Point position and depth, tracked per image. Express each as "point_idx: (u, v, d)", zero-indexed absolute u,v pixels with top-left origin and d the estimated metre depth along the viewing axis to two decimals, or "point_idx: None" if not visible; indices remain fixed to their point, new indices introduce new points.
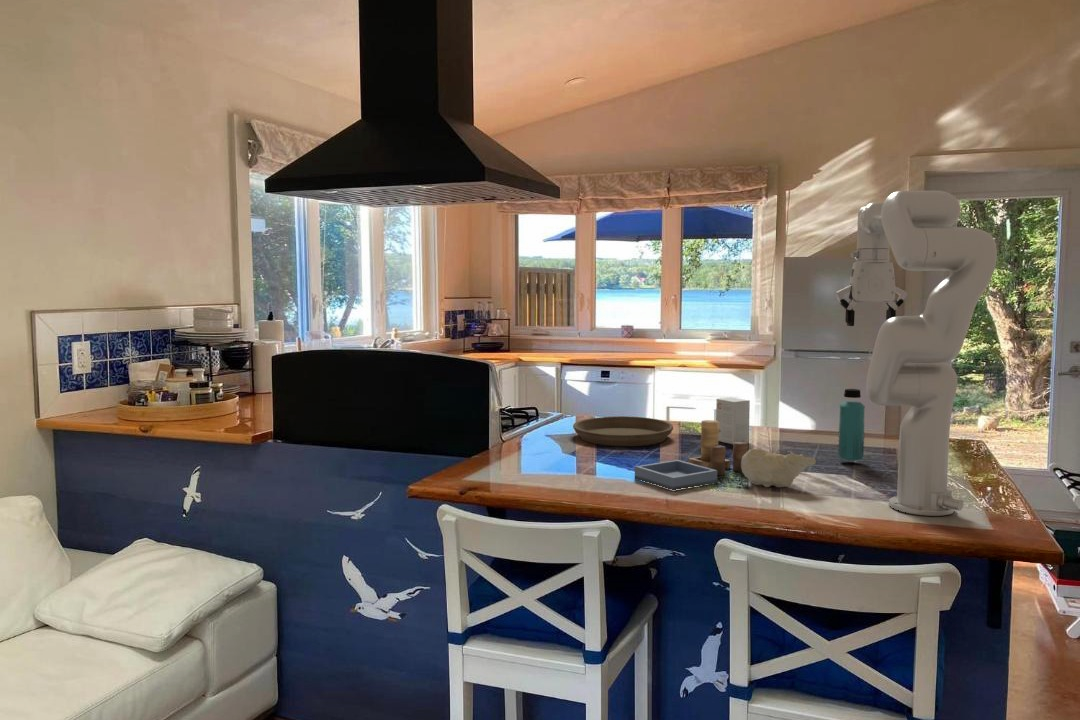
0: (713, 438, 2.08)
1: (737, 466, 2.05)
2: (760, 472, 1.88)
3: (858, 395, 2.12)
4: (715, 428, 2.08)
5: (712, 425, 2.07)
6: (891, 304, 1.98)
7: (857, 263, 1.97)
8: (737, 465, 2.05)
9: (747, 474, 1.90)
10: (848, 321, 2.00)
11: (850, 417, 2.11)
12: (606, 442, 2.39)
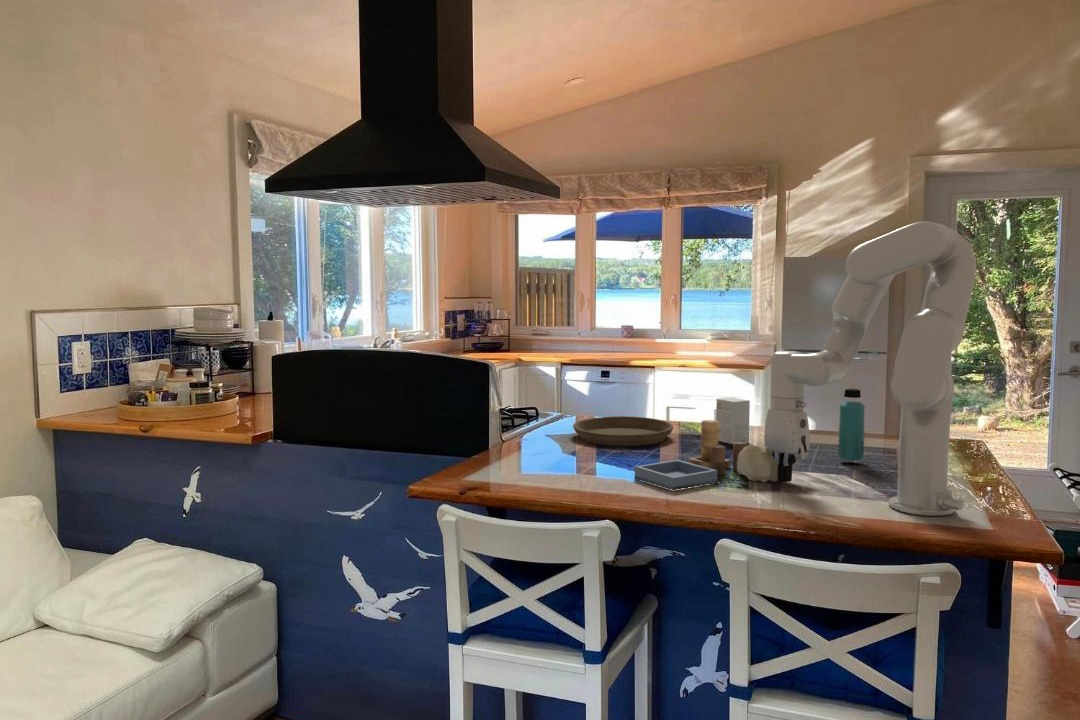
0: (713, 438, 2.08)
1: None
2: (758, 468, 1.92)
3: (858, 395, 2.12)
4: (715, 428, 2.08)
5: (712, 425, 2.07)
6: None
7: (806, 413, 1.85)
8: None
9: (746, 471, 1.93)
10: None
11: (850, 417, 2.11)
12: (606, 442, 2.39)
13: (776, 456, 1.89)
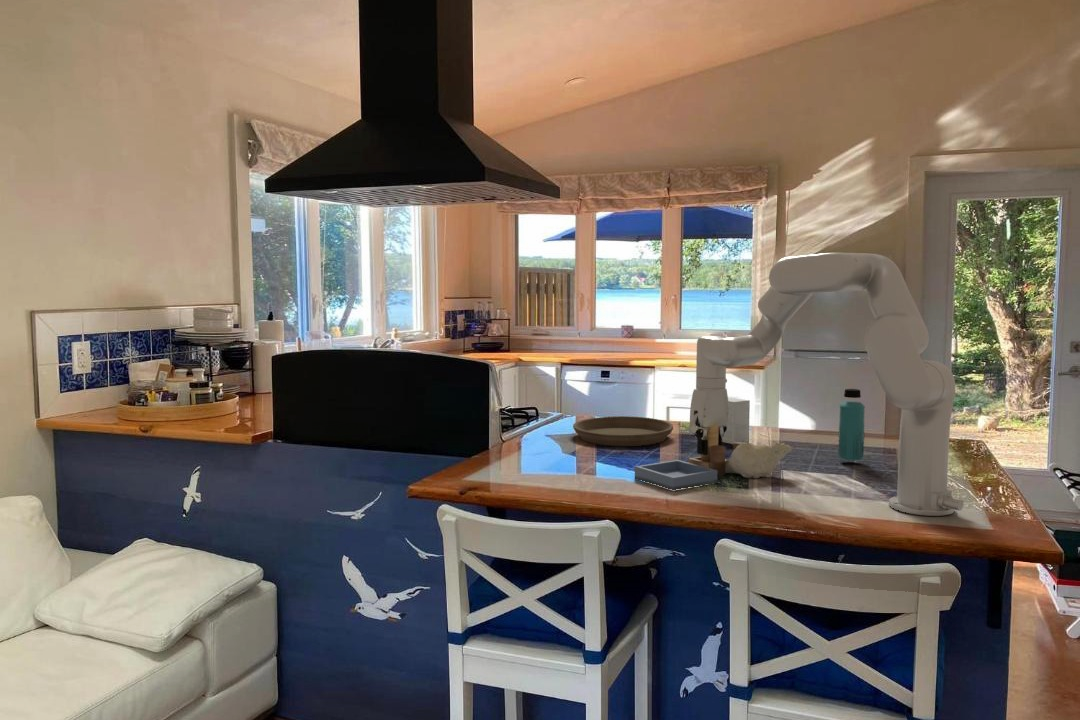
0: (713, 438, 2.08)
1: None
2: (753, 465, 1.96)
3: (858, 395, 2.12)
4: (715, 428, 2.08)
5: None
6: None
7: None
8: None
9: (742, 468, 1.95)
10: None
11: (850, 417, 2.11)
12: (606, 442, 2.39)
13: (705, 433, 2.07)
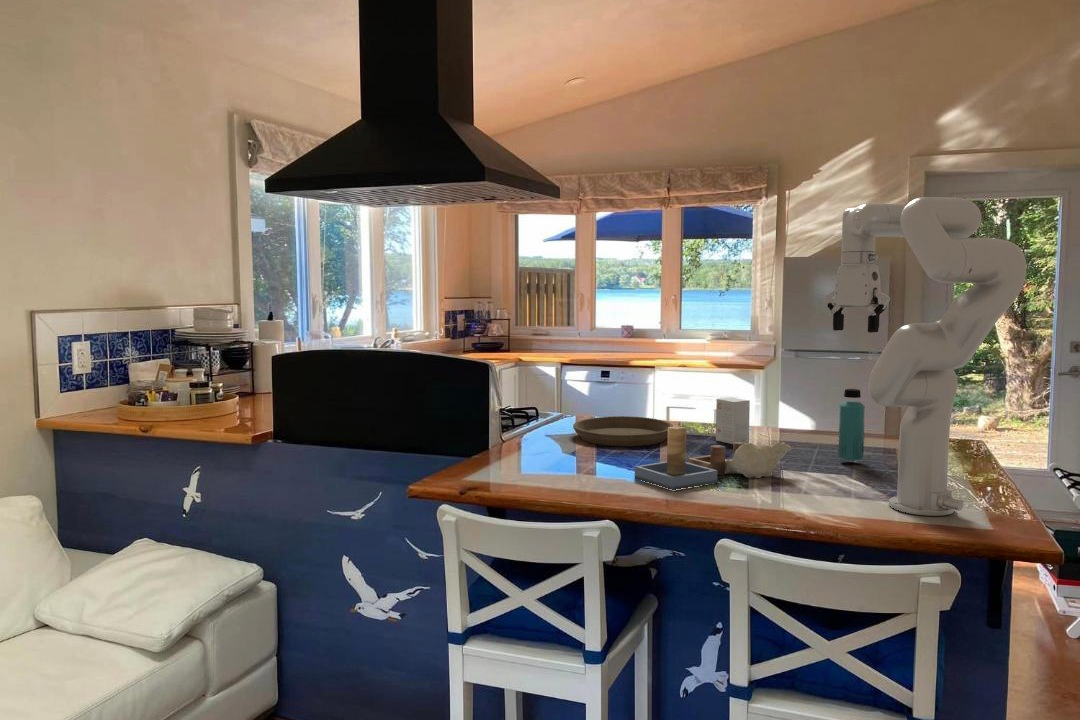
0: (668, 444, 1.94)
1: None
2: (756, 465, 1.96)
3: (858, 395, 2.11)
4: (669, 434, 1.93)
5: (668, 430, 1.94)
6: None
7: (877, 266, 1.90)
8: None
9: (745, 469, 1.95)
10: None
11: (850, 417, 2.11)
12: (606, 442, 2.39)
13: (835, 307, 1.97)
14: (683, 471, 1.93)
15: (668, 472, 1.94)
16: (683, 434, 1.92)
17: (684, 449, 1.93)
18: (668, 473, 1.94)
